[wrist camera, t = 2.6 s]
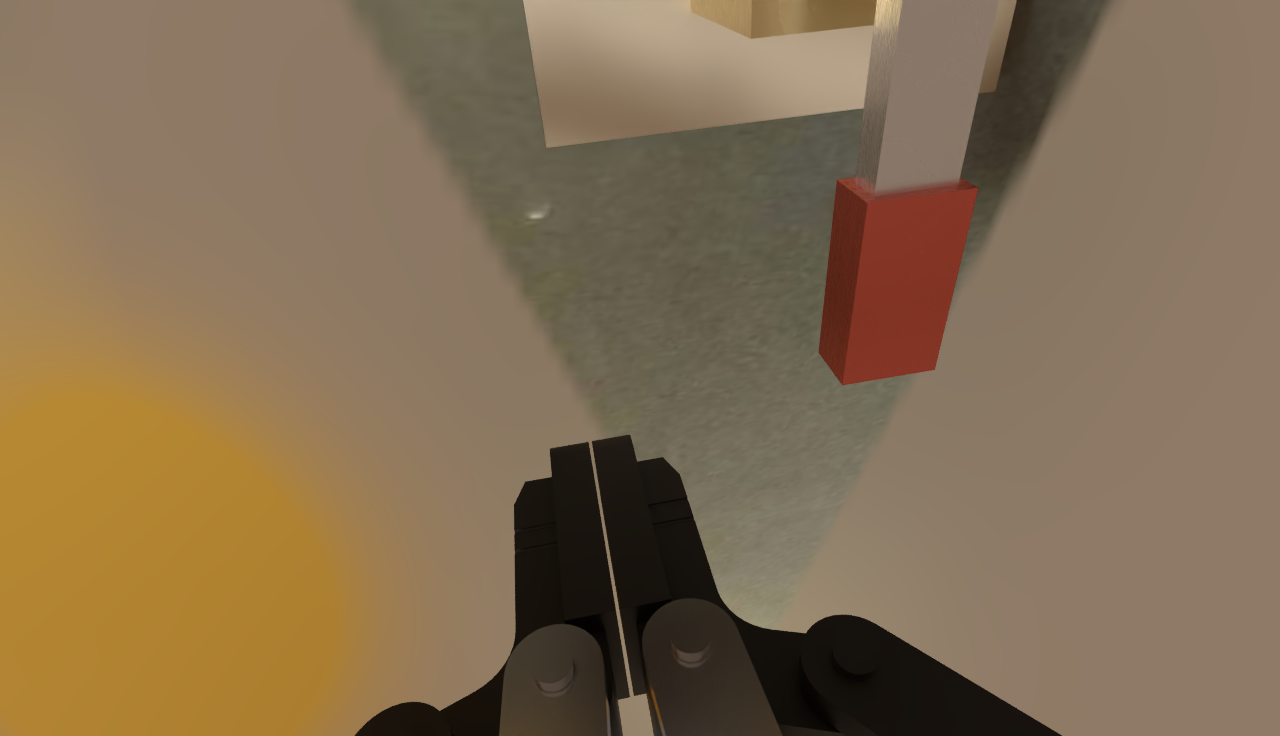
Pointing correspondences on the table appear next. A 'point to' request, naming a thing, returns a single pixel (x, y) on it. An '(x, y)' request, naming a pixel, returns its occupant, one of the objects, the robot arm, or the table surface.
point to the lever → (905, 191)
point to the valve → (785, 15)
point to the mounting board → (692, 69)
